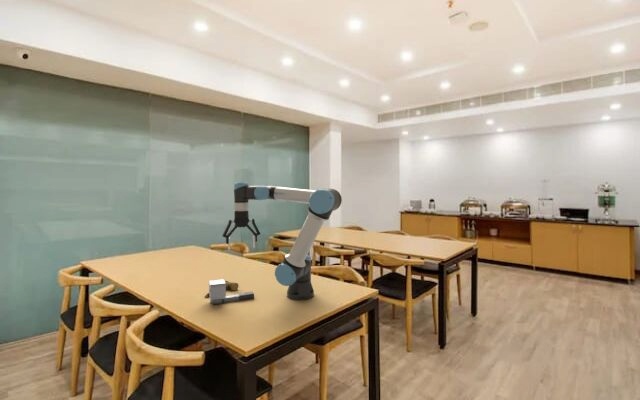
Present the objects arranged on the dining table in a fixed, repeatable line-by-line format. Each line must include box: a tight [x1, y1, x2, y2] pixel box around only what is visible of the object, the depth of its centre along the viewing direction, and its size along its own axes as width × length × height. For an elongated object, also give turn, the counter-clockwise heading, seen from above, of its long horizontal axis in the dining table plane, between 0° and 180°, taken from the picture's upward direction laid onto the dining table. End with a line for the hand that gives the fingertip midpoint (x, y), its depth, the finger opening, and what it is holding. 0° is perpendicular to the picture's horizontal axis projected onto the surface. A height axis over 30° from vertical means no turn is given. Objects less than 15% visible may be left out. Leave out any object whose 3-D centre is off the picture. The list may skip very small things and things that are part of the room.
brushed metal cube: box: [208, 278, 227, 300], centre depth 169 cm, size 8×8×8 cm
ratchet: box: [209, 291, 255, 306], centre depth 172 cm, size 22×7×8 cm, turn 114°
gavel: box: [204, 280, 239, 299], centre depth 185 cm, size 21×5×10 cm
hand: (241, 248), depth 178 cm, fingers open, 13 cm apart
